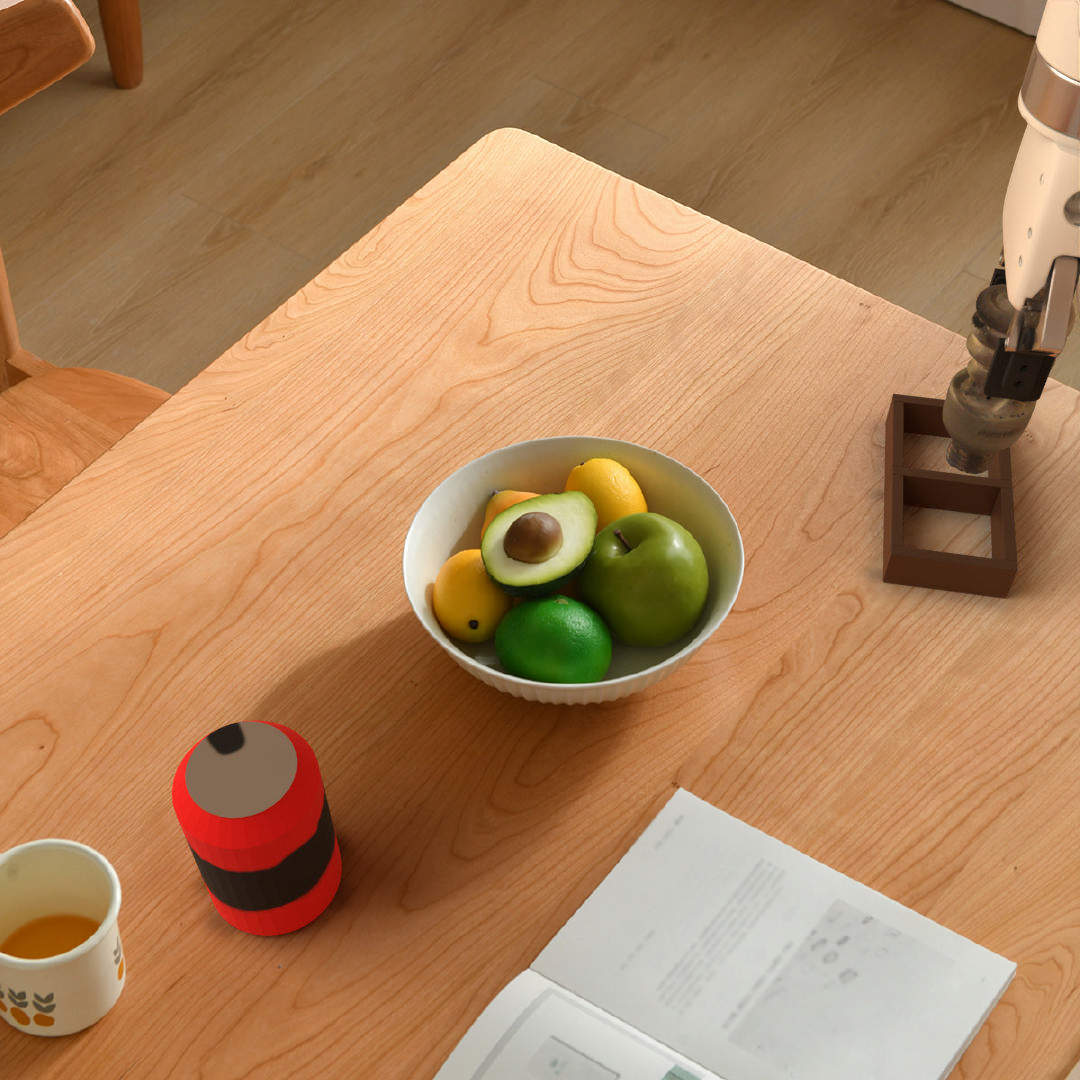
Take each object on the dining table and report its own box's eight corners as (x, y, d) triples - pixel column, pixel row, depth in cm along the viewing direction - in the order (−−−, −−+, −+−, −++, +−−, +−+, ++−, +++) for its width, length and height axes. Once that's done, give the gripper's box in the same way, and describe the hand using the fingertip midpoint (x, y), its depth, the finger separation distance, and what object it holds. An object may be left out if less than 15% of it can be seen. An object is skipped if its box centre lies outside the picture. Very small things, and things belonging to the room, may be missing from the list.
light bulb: (991, 434, 90) (1057, 253, 79) (1027, 494, 87) (1101, 313, 75) (912, 447, 90) (966, 265, 78) (945, 508, 86) (1006, 327, 75)
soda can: (309, 796, 81) (279, 683, 72) (365, 897, 77) (341, 790, 68) (190, 856, 79) (144, 746, 70) (241, 963, 75) (199, 862, 65)
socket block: (1006, 598, 91) (1018, 570, 89) (882, 582, 92) (890, 554, 90) (996, 435, 101) (1007, 406, 99) (885, 422, 102) (893, 393, 100)
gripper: (1205, 195, 61) (1083, 471, 75) (1161, 6, 72) (1062, 277, 86) (1035, 179, 62) (945, 454, 76) (1016, -6, 73) (941, 264, 87)
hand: (1008, 357), depth 81 cm, fingers closed on light bulb, 5 cm apart
